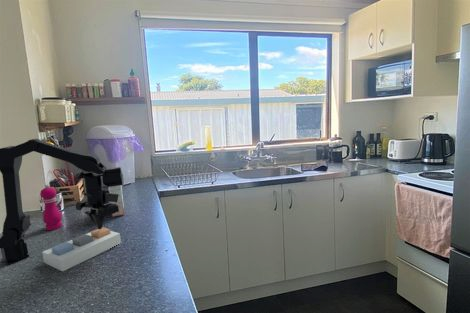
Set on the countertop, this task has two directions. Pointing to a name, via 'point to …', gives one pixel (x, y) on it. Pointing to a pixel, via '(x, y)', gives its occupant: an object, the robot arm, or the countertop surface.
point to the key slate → (62, 248)
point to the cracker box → (120, 199)
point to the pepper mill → (50, 209)
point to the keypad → (81, 251)
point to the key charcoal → (82, 240)
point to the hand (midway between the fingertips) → (99, 228)
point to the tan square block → (100, 232)
